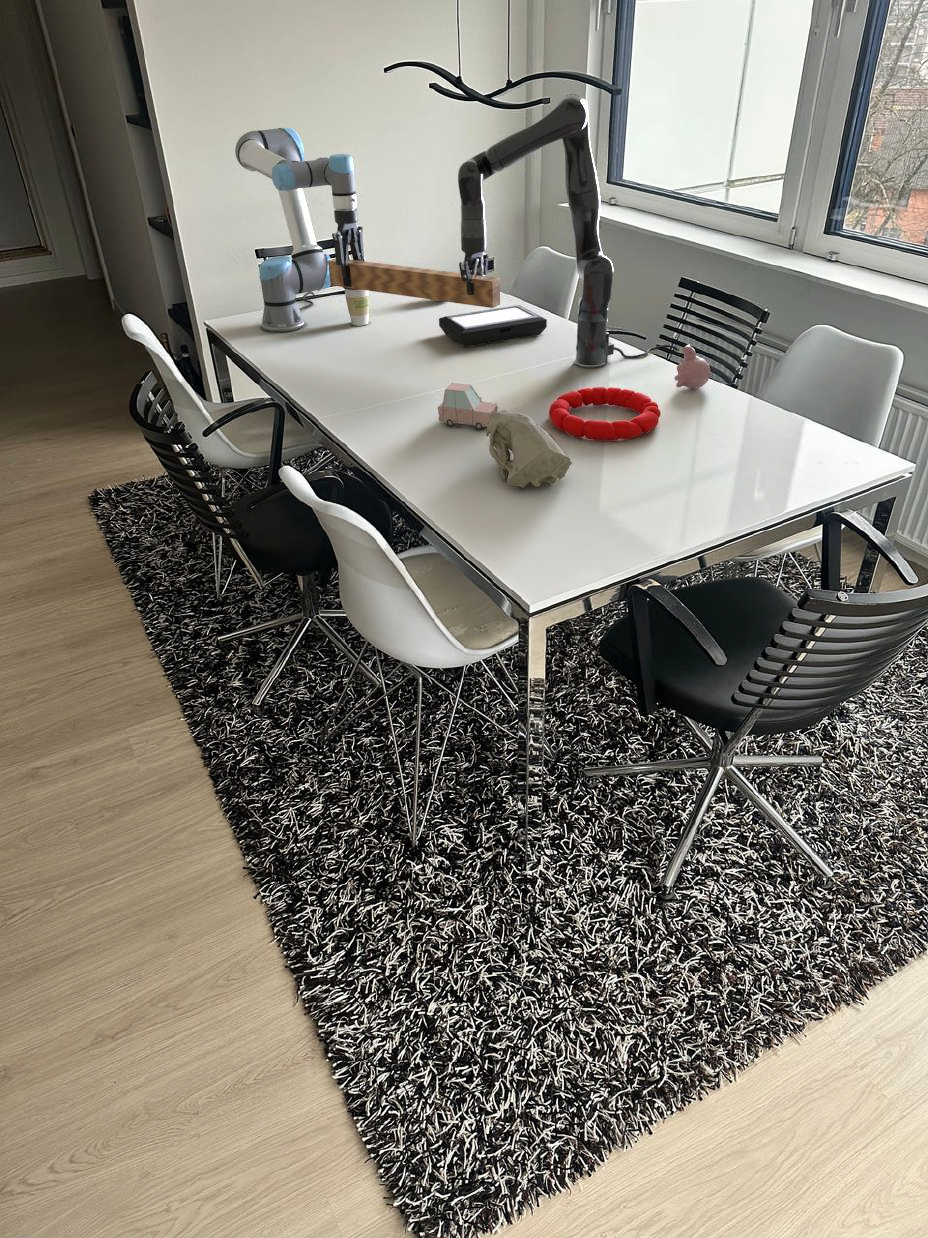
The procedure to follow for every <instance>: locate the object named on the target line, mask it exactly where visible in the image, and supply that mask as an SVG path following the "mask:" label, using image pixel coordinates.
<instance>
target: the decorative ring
mask: <svg viewBox="0 0 928 1238" xmlns="http://www.w3.org/2000/svg"><path fill="white" fill-rule="evenodd" d="M583 405H584V406H586V407H587V406H591V405H593V406H604V405H608V406H614V407H619V408H624V409H628V410H632V411H635V412H636V413H638V414H639V415H637V416H635V417H632V418H631V419H630V420H625V419H624V420H623V419H622V420H614V421H611V422H609V421H607V420H606V421H605V420H593V419H587V420H586V421H585V419H584V418H582V417H579V416H577V415H573V414H571V413H570V410H571V409H579V408H581V407H582V406H583ZM548 416H549V419H550V422H551V423H552V425H553V426H554V427H555V428H556V429H558V430H559V431H561V432H563V433H567V434H568V435H569V436H573V437H576V438H580V439H582V438H583V437H585V438H586V439H587V440H591V441H601V442H602V441H603V442H608V441H609V442H610V441H611V442H612V441H615V442H616V441H618V440H630V439H634V438H638V437H641V436H642V434H647V433H650V432H651V431H653V430H654V429H655V428H656V427H657V426H658V424H659V422H660V421H659V420H660V417H661V410H660V408H659V405H658V403H657V402H656V401H652V399H651V397H649V396H648V395H646V394H644V393H642V392H635V391H634V390H632V389H628V388H624V389H622V388H620V387H613V386H612V387H611V386H610V387H608V388H606V387H604V386H594V387H585V388H584V387H583V388H580V389H578V390H571V391H568V392H565V393H563V394H561V395H560V396H558V397H557V398H556V400H554V401H552V403H551V404H550V407H549V409H548Z"/></svg>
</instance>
